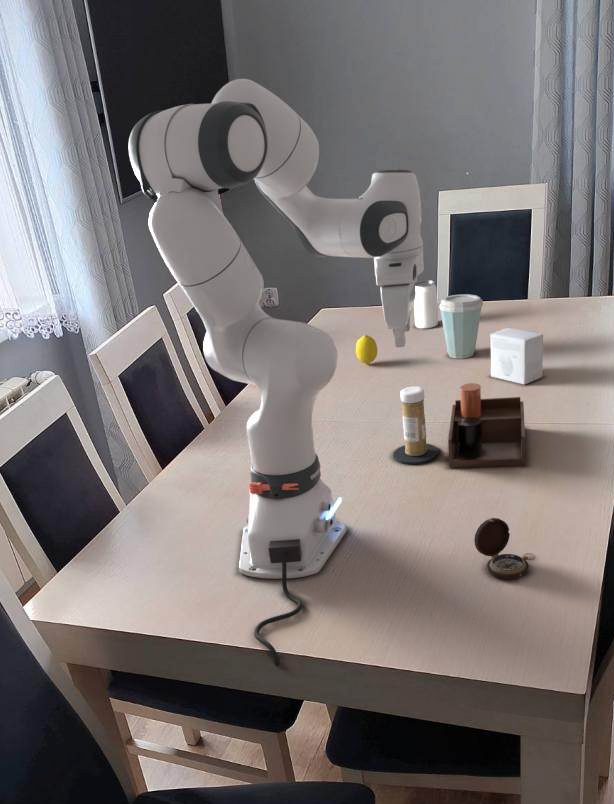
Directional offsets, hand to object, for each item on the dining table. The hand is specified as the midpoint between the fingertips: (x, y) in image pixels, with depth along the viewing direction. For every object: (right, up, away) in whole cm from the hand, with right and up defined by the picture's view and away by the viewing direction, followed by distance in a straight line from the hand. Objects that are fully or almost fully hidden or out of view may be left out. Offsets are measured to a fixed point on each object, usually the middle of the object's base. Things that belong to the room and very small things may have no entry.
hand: (403, 338), depth 165 cm
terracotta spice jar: (+16, -13, +13) cm, 24 cm away
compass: (+12, -42, -28) cm, 52 cm away
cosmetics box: (+34, 0, +40) cm, 53 cm away
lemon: (+2, +7, +63) cm, 64 cm away
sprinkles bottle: (+5, -21, +12) cm, 24 cm away
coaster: (+5, -21, +12) cm, 25 cm away
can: (+22, +23, +84) cm, 90 cm away
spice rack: (+19, -20, +10) cm, 29 cm away
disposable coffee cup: (+26, +9, +59) cm, 65 cm away
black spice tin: (+15, -21, +8) cm, 27 cm away
